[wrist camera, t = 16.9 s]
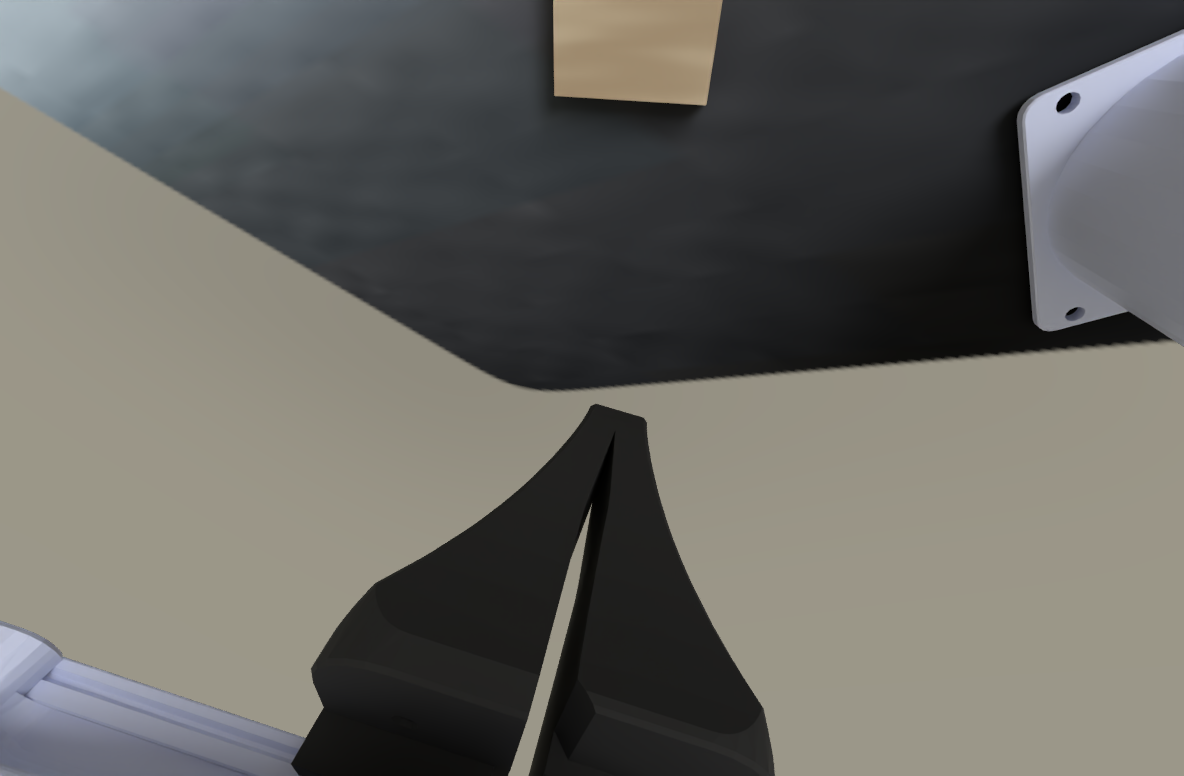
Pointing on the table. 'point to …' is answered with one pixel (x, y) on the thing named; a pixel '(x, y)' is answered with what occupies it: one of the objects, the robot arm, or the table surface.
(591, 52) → the domino
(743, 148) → the table surface
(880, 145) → the table surface
